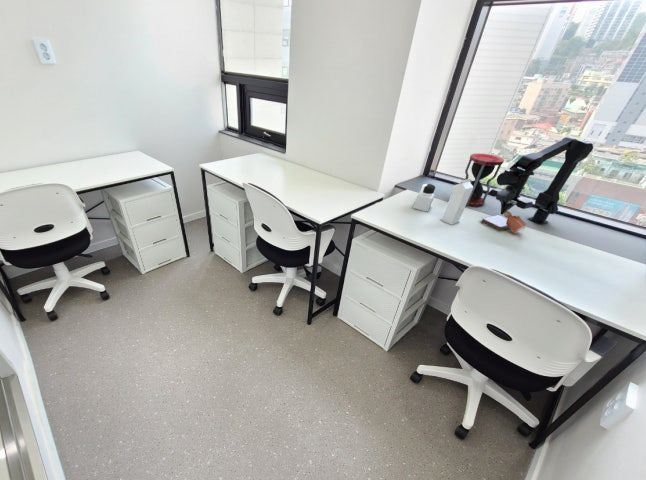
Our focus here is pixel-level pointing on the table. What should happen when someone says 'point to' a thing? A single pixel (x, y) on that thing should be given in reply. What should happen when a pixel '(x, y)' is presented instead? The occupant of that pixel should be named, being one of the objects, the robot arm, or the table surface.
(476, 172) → the hourglass
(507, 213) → the bottle
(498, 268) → the table surface
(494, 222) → the riser
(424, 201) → the container
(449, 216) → the milk
